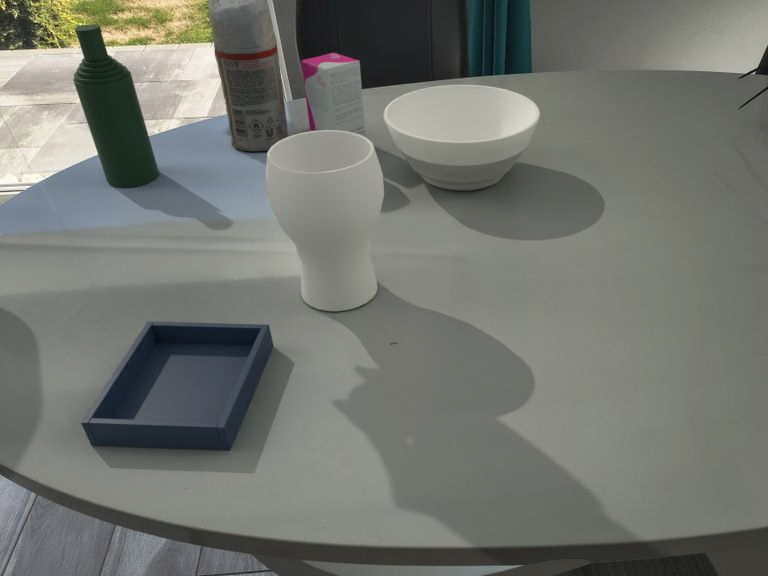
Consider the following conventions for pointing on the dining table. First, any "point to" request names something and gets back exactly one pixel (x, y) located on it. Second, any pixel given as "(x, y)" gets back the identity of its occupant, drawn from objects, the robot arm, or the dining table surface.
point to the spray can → (249, 72)
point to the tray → (181, 387)
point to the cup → (328, 212)
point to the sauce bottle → (113, 113)
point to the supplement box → (334, 93)
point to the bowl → (461, 133)
